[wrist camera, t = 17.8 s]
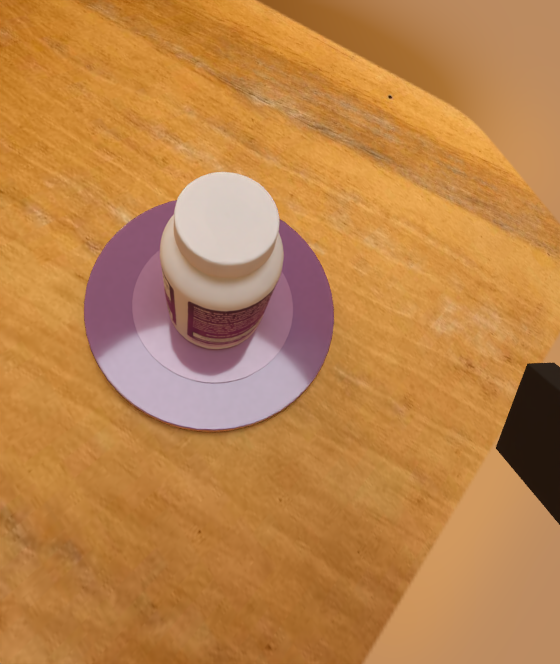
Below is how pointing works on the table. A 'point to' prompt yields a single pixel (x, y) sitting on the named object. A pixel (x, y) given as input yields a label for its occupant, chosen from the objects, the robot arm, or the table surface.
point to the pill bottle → (221, 259)
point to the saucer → (195, 361)
